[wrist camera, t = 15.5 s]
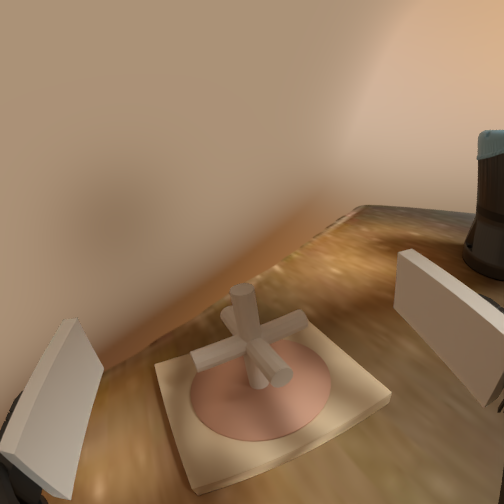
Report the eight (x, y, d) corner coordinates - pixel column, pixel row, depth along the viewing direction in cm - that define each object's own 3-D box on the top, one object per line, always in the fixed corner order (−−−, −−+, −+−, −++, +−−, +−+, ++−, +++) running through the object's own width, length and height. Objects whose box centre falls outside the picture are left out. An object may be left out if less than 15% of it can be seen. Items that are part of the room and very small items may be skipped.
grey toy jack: (192, 370, 28) (164, 284, 25) (279, 335, 32) (269, 250, 28) (230, 443, 20) (196, 351, 16) (336, 390, 23) (339, 293, 20)
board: (300, 322, 36) (299, 310, 36) (389, 402, 22) (392, 390, 22) (158, 373, 31) (153, 362, 30) (197, 495, 17) (190, 487, 16)
